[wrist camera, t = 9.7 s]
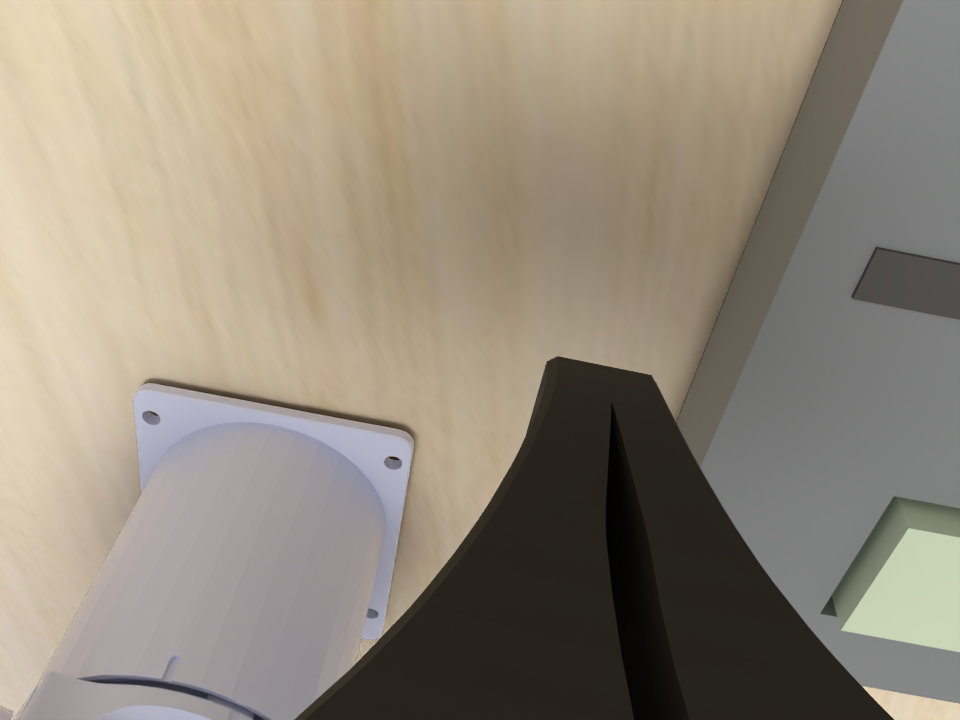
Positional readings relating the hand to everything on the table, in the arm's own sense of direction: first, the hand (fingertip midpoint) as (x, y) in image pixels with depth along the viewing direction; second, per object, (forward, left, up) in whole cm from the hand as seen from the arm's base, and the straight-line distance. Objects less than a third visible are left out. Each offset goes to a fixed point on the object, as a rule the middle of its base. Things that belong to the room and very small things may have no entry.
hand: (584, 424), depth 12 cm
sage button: (-9, -11, -10) cm, 17 cm away
